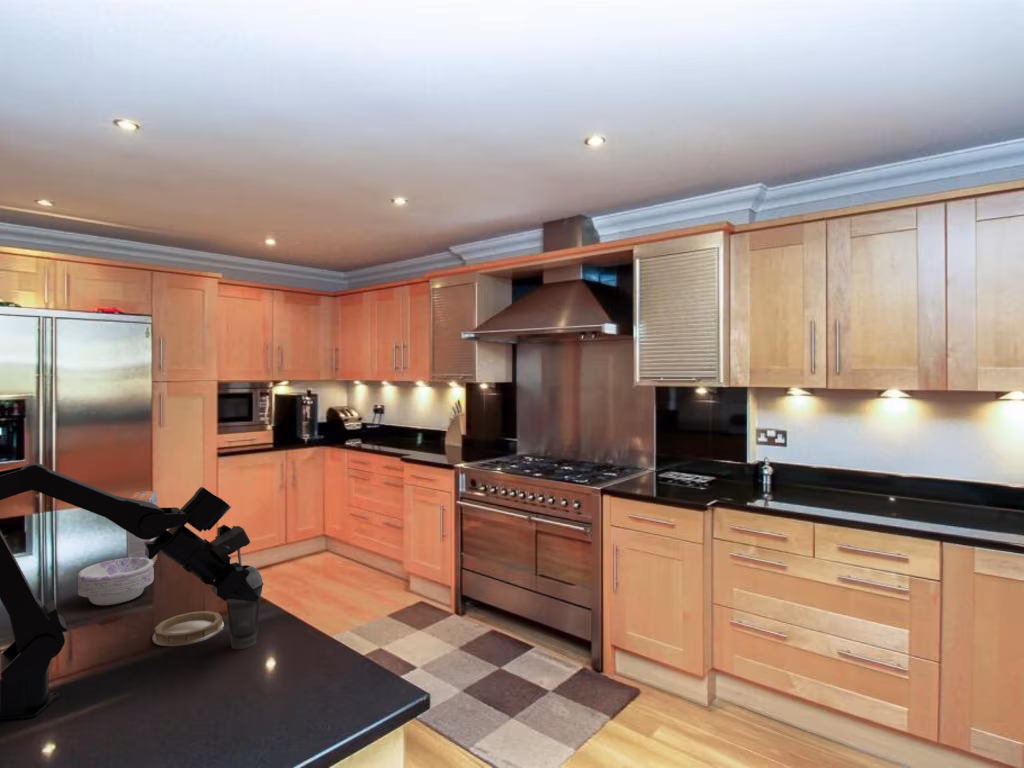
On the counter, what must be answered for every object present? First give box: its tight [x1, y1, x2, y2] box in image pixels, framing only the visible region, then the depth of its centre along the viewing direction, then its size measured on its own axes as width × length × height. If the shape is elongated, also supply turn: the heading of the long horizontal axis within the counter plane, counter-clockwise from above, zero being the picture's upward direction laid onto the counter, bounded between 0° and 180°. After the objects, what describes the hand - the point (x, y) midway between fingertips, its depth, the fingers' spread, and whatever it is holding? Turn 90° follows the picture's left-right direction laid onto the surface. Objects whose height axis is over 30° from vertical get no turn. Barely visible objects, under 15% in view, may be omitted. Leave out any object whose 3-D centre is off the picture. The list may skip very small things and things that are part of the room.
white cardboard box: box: [125, 490, 158, 567], centre depth 162 cm, size 14×6×21 cm, turn 25°
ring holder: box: [152, 610, 225, 647], centre depth 119 cm, size 13×13×2 cm
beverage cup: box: [225, 548, 264, 650], centre depth 113 cm, size 7×7×20 cm
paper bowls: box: [77, 557, 155, 606], centre depth 138 cm, size 15×15×8 cm
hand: (250, 594), depth 114 cm, fingers closed on beverage cup, 7 cm apart
